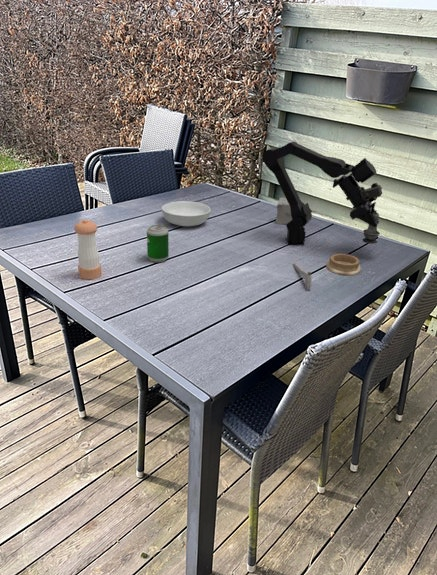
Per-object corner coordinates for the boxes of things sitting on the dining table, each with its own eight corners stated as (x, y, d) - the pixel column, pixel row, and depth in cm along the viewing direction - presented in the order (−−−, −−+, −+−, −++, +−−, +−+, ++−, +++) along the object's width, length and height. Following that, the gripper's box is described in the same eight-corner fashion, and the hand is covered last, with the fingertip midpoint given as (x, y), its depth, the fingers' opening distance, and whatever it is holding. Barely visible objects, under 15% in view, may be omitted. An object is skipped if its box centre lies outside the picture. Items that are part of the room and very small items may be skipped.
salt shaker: (359, 237, 180) (365, 207, 174) (375, 238, 180) (381, 207, 174) (363, 243, 175) (370, 212, 169) (379, 244, 175) (386, 213, 169)
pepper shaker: (81, 281, 153) (76, 224, 145) (76, 272, 159) (70, 217, 150) (104, 277, 157) (99, 222, 148) (98, 268, 162) (93, 215, 154)
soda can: (172, 257, 173) (172, 226, 168) (161, 265, 167) (161, 232, 162) (154, 253, 176) (154, 222, 170) (143, 260, 170) (142, 228, 164)
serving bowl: (209, 232, 198) (210, 216, 195) (159, 230, 198) (158, 214, 194) (210, 216, 216) (211, 201, 213) (164, 214, 216) (164, 199, 213)
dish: (331, 275, 165) (333, 266, 163) (322, 261, 175) (323, 252, 174) (365, 275, 166) (367, 266, 164) (353, 261, 176) (355, 252, 175)
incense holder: (274, 224, 209) (277, 201, 205) (277, 218, 217) (279, 196, 212) (297, 227, 207) (300, 204, 203) (299, 221, 215) (302, 199, 210)
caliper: (310, 291, 154) (312, 273, 151) (306, 291, 154) (309, 273, 151) (295, 265, 172) (297, 249, 169) (292, 265, 172) (294, 249, 169)
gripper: (365, 182, 160) (392, 220, 161) (376, 171, 175) (400, 206, 176) (338, 201, 167) (364, 237, 168) (351, 189, 182) (374, 222, 183)
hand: (377, 225), depth 173 cm, fingers closed on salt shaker, 4 cm apart
